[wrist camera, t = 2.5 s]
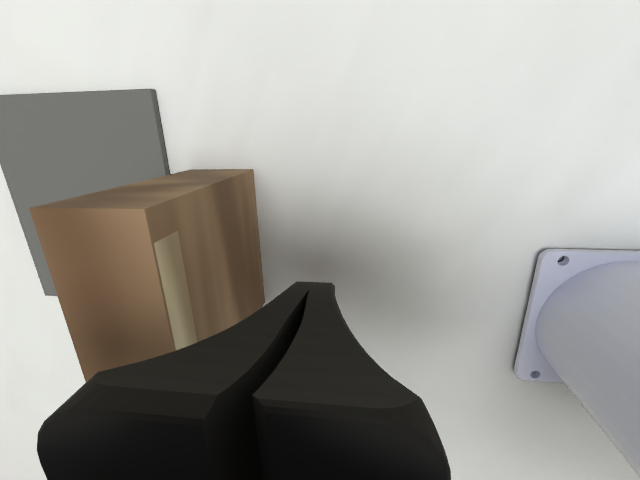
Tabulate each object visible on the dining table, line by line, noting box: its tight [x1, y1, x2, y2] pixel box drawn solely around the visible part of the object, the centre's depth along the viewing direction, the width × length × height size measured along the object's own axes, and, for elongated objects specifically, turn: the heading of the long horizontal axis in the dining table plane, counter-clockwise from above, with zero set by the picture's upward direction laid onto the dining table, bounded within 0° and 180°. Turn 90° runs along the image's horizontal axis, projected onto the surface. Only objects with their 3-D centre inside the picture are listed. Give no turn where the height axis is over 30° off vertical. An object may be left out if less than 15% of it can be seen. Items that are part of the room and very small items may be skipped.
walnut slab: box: [29, 169, 265, 382], centre depth 14 cm, size 4×8×9 cm, turn 0°
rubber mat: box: [0, 89, 170, 296], centre depth 19 cm, size 10×12×1 cm
